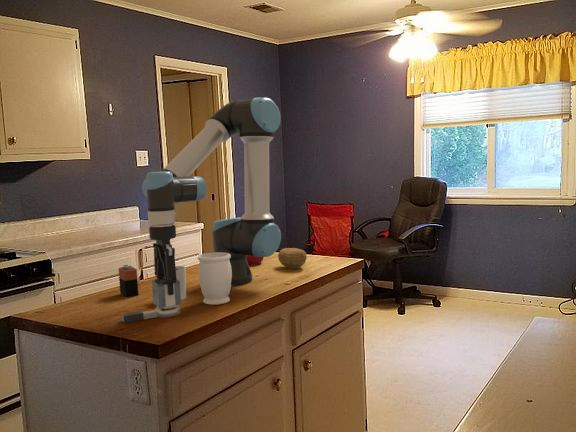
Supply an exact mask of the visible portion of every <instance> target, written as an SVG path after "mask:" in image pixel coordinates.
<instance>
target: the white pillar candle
mask: <svg viewBox="0 0 576 432" xmlns="http://www.w3.org/2000/svg"><path fill="white" fill-rule="evenodd" d="M175 267H176V279H177V280H179V281H180V295H181V301H182V300H185V299H187V275H186V274H187V273H186V272H187V269H186V266H183V265H175Z"/></svg>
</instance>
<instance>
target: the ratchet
mask: <svg viewBox="0 0 576 432" xmlns="http://www.w3.org/2000/svg"><path fill="white" fill-rule="evenodd" d="M180 314H181V306H180V305H174V306H168V307H162V308H159V307H158V306H156V307H155V308H154V309H151V310H148V311H147V310H146V311H142V310H138V311H130V312H125V313H121V321H122V323H124V324H128V323H134V322H139V321H144V320H149V319H153V318H161V319H162V318H163V319H164V318H172V317H173V318H174V317H176V316H179V315H180Z"/></svg>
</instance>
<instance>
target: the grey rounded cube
mask: <svg viewBox="0 0 576 432" xmlns="http://www.w3.org/2000/svg"><path fill="white" fill-rule="evenodd" d="M171 279H172V278H171ZM164 282H165V278H161V279H157V278H156V279H151V288H152V289H151V290H152V301H153V302H152V304H154V305H155V306H156V307H159V308H162V307H166V306H165V289H164V285H163V283H164ZM174 289H175V305H179V306H180V305H182V300H181V295H180V281H179V280H177V282H175V283H174ZM173 306H174V305H173ZM167 307H168V306H167Z"/></svg>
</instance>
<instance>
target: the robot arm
mask: <svg viewBox="0 0 576 432" xmlns="http://www.w3.org/2000/svg"><path fill="white" fill-rule="evenodd" d="M281 120H282V119H281V112H280V109H279V106H277V105H276V103H275V102H274V100H272V99H271V98H269V97H252V98H246V99H237V100H233V101H230V102H228V103H226V104H225V105H223V106H222V107H220V108H219V109H218V110H217V111H215V113H213V115H211V116H210V117H209V118H208V119H207V120H206V121H205V125H204V126H205V127H203V129H202V130H200V131H199V133H197V134H196V136H195V137H194V138H193V139H192V140H190V141H189V142H188V144H187V145H186V146H184V148H183V149H181V150H180V152H179V153H177V155H176V156H175V157H174V158H172V160H171V161H170V162H169V163H168V164H167V165H166V166H165V167H164V168H163V169H162V170H161V171H151V172H148V173H147V174H146V175H145V179H144V180H143V182H142V187H141V190H142V193H143V195H144V197H145V198H146V201H147V202H146V203H147V216H148V218H147V220H148V225H149V228H148V233H149V239H150V240H153V241H155V243H153V244H152V247H153V261H154V262H153V265H154V276H156V279H161V278H165V282H164V283H163V285H164V289H165V306H166V307H167V306H173V305H175V289H174V283H175V282H177V279H176V267H175V266H176V259H175V258H176V257H175V256H176V255H175V254H176V252H175V251H176V250H175V247H173V246H172V244H171V240H172V239H175V238H176V237H177V229H176V228H177V227H176V225H175V223H176V216H177V212H175V209H176V207H175V204H178V203H188V202H197V201H201V200H203V199H205V198H206V195H207V194H208V193H207V192H208V185H207V182H206V180H205V179H204V178H203V177H201V176H199V175H198V176H195V175H192V174H193V173H194V172H195V170H196V169H197V168H198V167H199V166H200V165H201V164H202V163H203V162H204V161H205V160H206V159H207V158H208V157H209V155H211V154H212V153H213V151H214V150H215V149H217V147H219V145H220V144H222V143H226V142H227V141H228V140H229V139H230V138H232V137H234V136H236V135H237V136H238V135H239V140H241V141H242V143H243V155H244V156H243V159H244V162H243V163H244V172H243V174H244V179H243V180H244V213H243V214H242V215H241V217H231V218H226V219H225V218H224V219H218V220H215V221H214V222H213V224H212V232H211V233H212V243H213V253H215V252H223V253H229V254H231V258H230V259H229V261H230V264H231V269H232V280H231V287H233V286H239V285H240V286H241V285H245V284H248V283H250V282H252V281H253V273H252V271H251V268H250V265H248V262H247V259H246V255H250V256H256V257H264V258H268V257H270V256H272V255H275V253H276V252H277V250H278V249H279V247H280V244H281V241H282V233H281V229H280V227H279V226H278V225H277V224H275V218H274V216H273V215H272V214H271V212H270V209H271V208H270V206H271V205H270V142H272V141H273V139H274V138H275V136H274V132H276V131H277V130H278V129H279V127H280V125H281V123H282V122H281ZM190 175H191V176H190ZM171 278H172V279H171Z"/></svg>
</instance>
